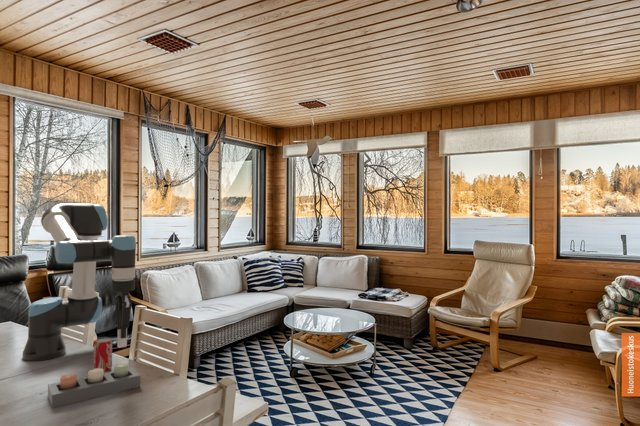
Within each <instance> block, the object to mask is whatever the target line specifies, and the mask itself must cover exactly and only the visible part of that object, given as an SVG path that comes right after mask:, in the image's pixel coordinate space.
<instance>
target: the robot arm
mask: <svg viewBox="0 0 640 426" xmlns="http://www.w3.org/2000/svg"><path fill="white" fill-rule="evenodd" d="M40 223H41V226H42V229H44V230H45V232H47V233H49V234H50V235H51V238H52V239H53V240H54V242H55V246H54V247H55V248H54V257H55V260H56V262H57V263H59V264H72V263H73V268H72V269H73V270H72V271H73V272H72V285H71V287H72V288H71V292H70V293H68V294H67V299H63V298H62V297H61V296H52V297H46V298H42V299H39V300H36V301H33V302H32V303H31V304H30V305H29V308H28V315H27V317H28V326H27V328H28V329H27V330H28V332H27V334H28V335H27V341H26V342H25V346H24V348H23V351H22V360H24V361H29V362H31V361H32V362H37V361H46V360H51V359H55V358H56V359H57V358H58V357H61V356H63V355H65V353H66V350H67V349H66V344H65V342H64V339H63V336H62V329H63V328H69V327H76V326H83V325H85V326H86V325H88V324H89V325H90V324H93V323H96V322H97V321H98V320H100V317H101V314H102V311H103V302H102V301H103V300H102V298H101V297H100V296H99V295H98V292H97V291H96V290H95V283H96V271H97V270H96V269H97V262H105V261H106V262H108V261H109V262H111V270H109V273H110V274H111V279H112V280H111V283H110V284H111V285H110V286H111V287H110V290H111V291H112V292H113V293H116V296H114V304H115V305H114V307H115V325H116V329H117V340H116V341H117V343H116V344H117V349H118V348H119V349H120V348H121V349H122V348H126V347H127V346H128V328H130V321H131V309H132V305H133V302H132V301H131V296H130V292H133V291H134V290H135V289H136V280H135V278H136V252H137V250H136V248H137V244H136V243H137V241H136V237H135V235H125V234H124V235H114V236H112V238H110V239H105V240H102V239H101V240H98V239H99V238H100V237H101V236H102V234H103V231H106V230H107V227H108V216H107V212H106V209H105V207H104V206H103V205H101V204H97V203H80V202H79V203H73V202H71V203H68V202H63V203H62V202H61V203H57V204H54V205H52V206H50V207H49V208H47V209H46V210H45V211H44V212H43V213H42V216H41V220H40Z"/></svg>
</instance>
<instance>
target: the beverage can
mask: <svg viewBox="0 0 640 426" xmlns="http://www.w3.org/2000/svg"><path fill="white" fill-rule="evenodd" d="M92 366H93V368H92V369H97V368H101V369H103V370H104V373H106V372H110V371H112V368H113V367H112V366H113V342H112V339H111V338H109V337H105V338H98V339H96V340H95V343H94V344H93V365H92Z"/></svg>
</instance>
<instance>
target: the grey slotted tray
mask: <svg viewBox="0 0 640 426" xmlns="http://www.w3.org/2000/svg"><path fill="white" fill-rule="evenodd" d="M132 388H133V389H137V388H141V374H140V373H139V372H138V371H137V370H136V369H135V368H134V367H133V366H128V375H126V376H122V377H115V376H114V370H109V371H108V372H106V373H103V380H102V381H99V382H94V383H91V382H88V375H87V376H82V377H77V384H76V386H74V387H72V388H67V389H62V388H60V381H58V382H54V383H49V384H48V385H47V398H48V401H49V404H50V406H51V408H52V409H53V408H58V407H63V406H65V405H67V406H68V405H70V404H71V405H72V404H75V403H79V402H83V401H88V400H92V399H96V398H99V397H104V396H109V395H111V394H112V393H113V394H116V392H117V393H120V391H121V392H125V391H128V390H127V389H129V390H133V389H132ZM124 390H125V391H124Z"/></svg>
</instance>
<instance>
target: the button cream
mask: <svg viewBox="0 0 640 426" xmlns="http://www.w3.org/2000/svg"><path fill="white" fill-rule="evenodd" d="M103 373H104V370H103V369H101V368H97V369H93V368H92V369H90V370H88V372H87V376H88V382H91V383H94V382H99V381H102V380H103Z"/></svg>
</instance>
